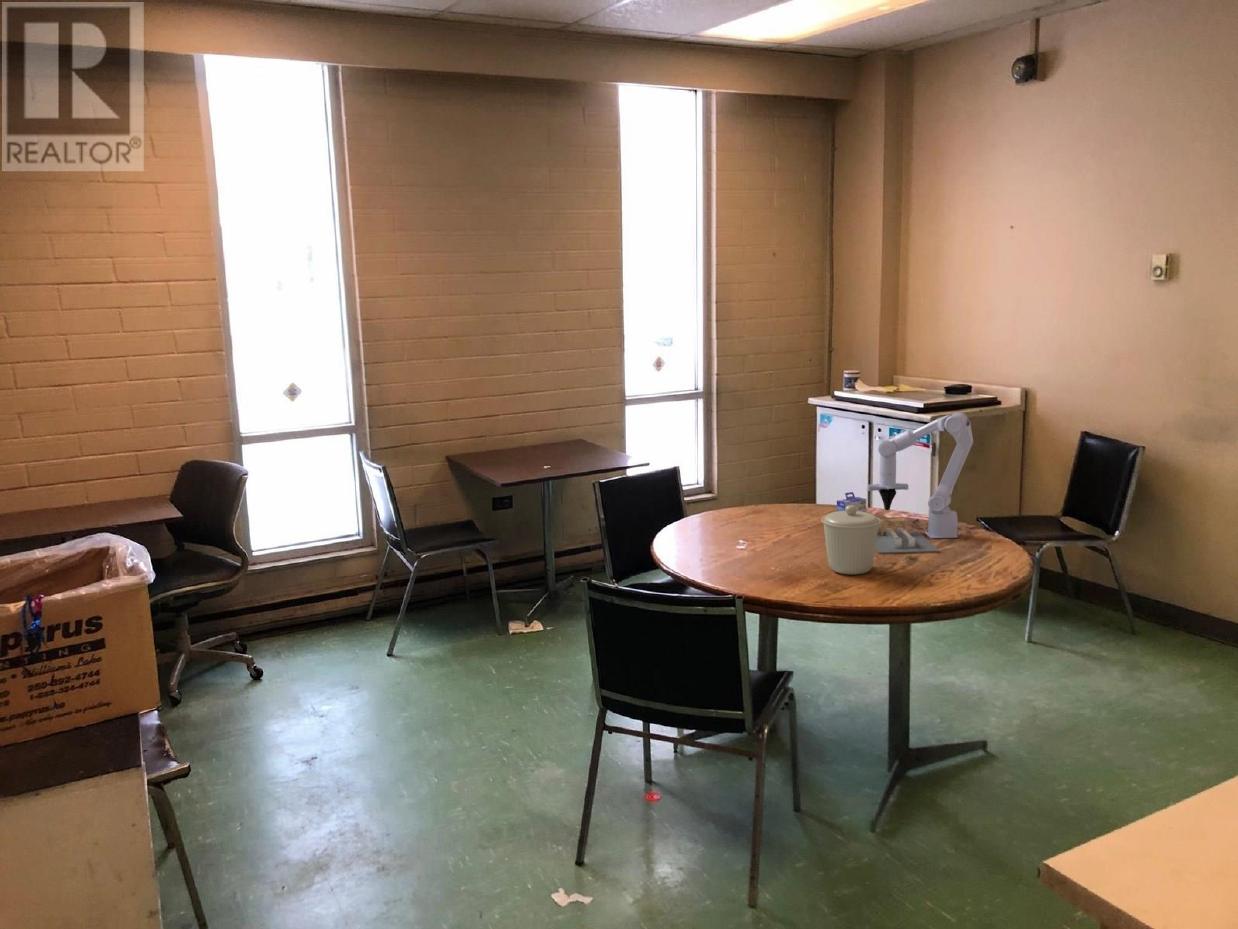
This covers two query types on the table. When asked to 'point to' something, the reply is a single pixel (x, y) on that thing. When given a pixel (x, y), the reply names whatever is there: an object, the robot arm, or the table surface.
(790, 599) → the table surface
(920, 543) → the mat
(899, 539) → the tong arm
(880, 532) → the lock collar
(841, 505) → the ink cartridge box
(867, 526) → the canister
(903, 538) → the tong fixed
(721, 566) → the table surface
